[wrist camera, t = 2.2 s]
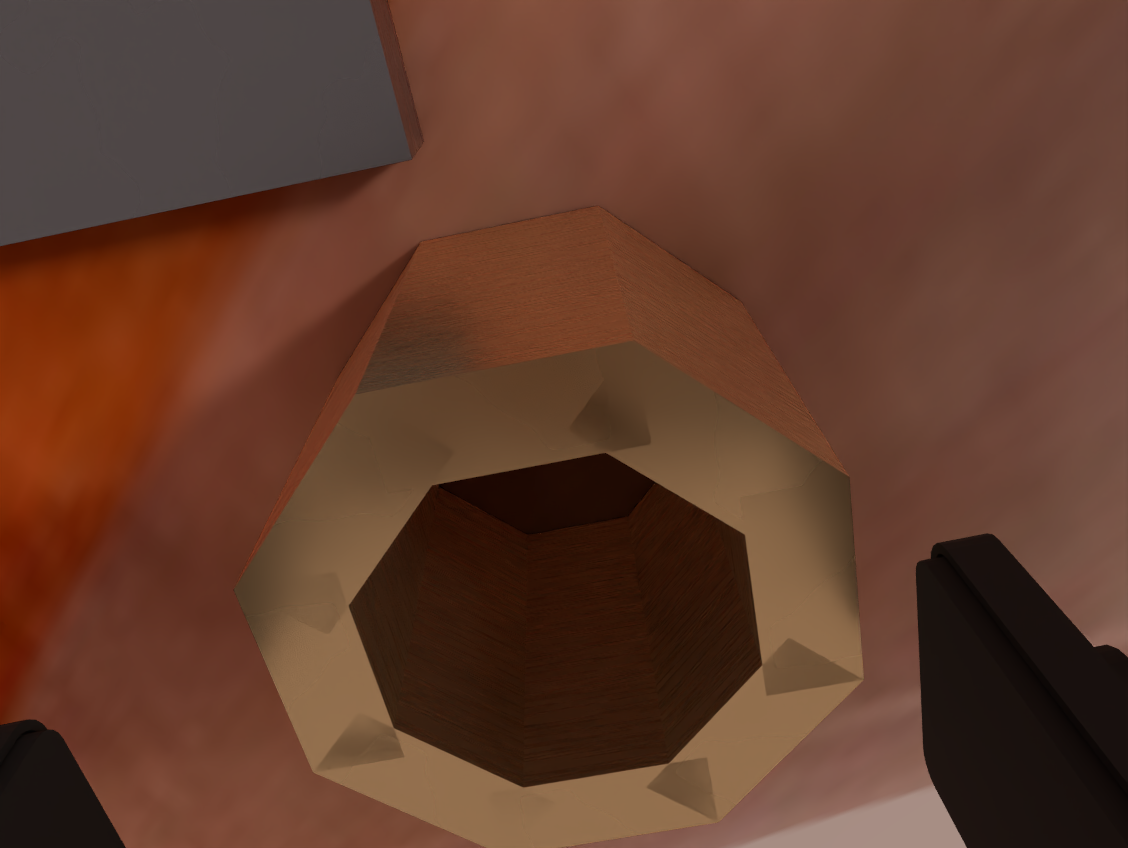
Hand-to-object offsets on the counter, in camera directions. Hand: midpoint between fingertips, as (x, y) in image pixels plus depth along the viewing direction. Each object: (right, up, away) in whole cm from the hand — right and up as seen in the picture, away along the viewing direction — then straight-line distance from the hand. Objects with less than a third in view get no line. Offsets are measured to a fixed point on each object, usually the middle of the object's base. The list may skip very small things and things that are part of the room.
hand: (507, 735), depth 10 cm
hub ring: (0, +3, +6) cm, 7 cm away
